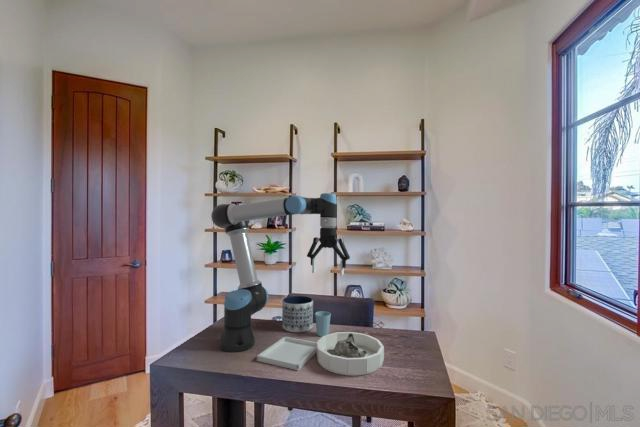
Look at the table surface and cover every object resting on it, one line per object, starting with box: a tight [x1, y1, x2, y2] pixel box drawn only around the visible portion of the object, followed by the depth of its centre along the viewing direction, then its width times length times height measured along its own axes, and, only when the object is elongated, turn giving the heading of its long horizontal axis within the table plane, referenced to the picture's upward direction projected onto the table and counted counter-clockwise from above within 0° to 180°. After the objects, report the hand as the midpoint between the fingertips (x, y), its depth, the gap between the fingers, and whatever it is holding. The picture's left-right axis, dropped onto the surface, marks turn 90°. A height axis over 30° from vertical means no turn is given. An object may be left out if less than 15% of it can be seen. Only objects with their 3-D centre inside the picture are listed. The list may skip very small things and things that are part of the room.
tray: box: [256, 336, 317, 371], centre depth 130 cm, size 19×22×2 cm
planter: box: [281, 295, 314, 333], centre depth 162 cm, size 16×16×14 cm
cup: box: [314, 310, 332, 338], centre depth 152 cm, size 8×8×10 cm
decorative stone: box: [327, 334, 367, 358], centre depth 125 cm, size 16×9×10 cm, turn 81°
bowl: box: [316, 331, 385, 377], centre depth 126 cm, size 26×26×6 cm
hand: (327, 274), depth 141 cm, fingers open, 13 cm apart
